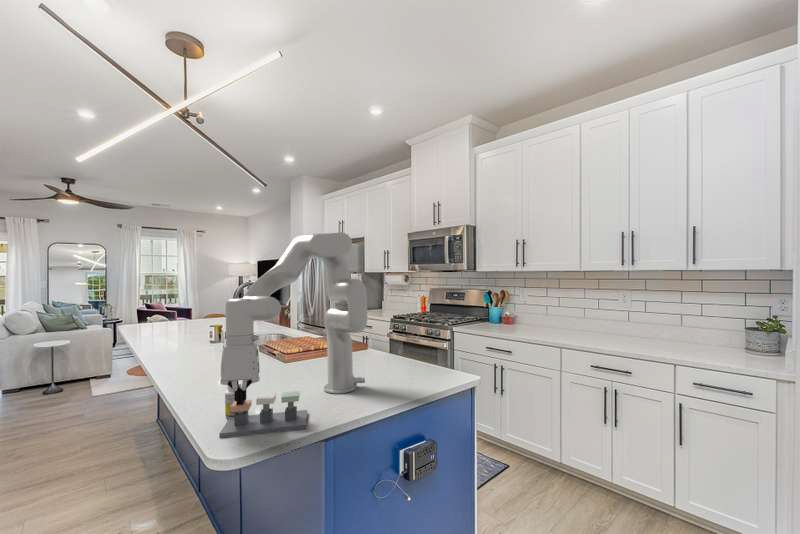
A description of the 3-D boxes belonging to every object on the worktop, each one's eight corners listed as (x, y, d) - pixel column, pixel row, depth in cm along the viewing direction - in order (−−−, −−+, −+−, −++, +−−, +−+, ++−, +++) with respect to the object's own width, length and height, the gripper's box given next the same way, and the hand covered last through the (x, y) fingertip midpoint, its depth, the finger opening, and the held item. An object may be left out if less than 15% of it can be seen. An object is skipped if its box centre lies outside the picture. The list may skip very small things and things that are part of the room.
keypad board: (307, 413, 119) (307, 400, 119) (305, 428, 107) (305, 414, 107) (230, 421, 114) (230, 407, 114) (219, 437, 102) (219, 422, 102)
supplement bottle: (239, 411, 122) (238, 380, 122) (247, 415, 118) (247, 383, 118) (222, 416, 118) (221, 384, 118) (230, 421, 114) (229, 387, 114)
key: (251, 414, 112) (251, 399, 112) (248, 421, 107) (248, 405, 107) (234, 416, 111) (234, 401, 111) (230, 422, 106) (230, 406, 106)
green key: (299, 405, 115) (299, 390, 115) (298, 411, 110) (298, 395, 110) (283, 407, 114) (283, 392, 114) (281, 413, 109) (281, 397, 109)
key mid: (275, 408, 113) (275, 392, 113) (273, 413, 109) (273, 397, 109) (259, 409, 112) (259, 394, 112) (256, 415, 108) (256, 399, 108)
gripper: (268, 337, 114) (269, 397, 114) (216, 339, 111) (216, 401, 111) (264, 341, 107) (265, 405, 107) (208, 344, 104) (209, 410, 104)
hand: (240, 403), depth 109 cm, fingers closed
